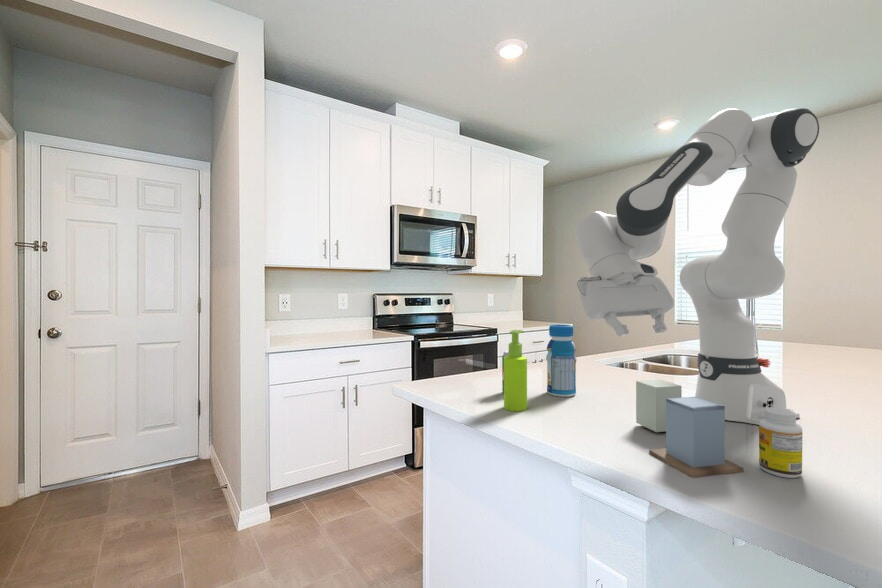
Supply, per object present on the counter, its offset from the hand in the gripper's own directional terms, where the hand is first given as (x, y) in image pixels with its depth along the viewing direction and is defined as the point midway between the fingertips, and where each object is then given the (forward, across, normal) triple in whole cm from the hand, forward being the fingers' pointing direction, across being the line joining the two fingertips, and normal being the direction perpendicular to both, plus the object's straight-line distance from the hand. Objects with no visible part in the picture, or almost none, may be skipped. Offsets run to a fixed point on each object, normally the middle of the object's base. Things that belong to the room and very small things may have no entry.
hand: (643, 333), depth 82 cm
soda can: (-5, -8, +48) cm, 49 cm away
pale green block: (+16, +8, +16) cm, 24 cm away
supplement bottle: (+29, +10, -3) cm, 31 cm away
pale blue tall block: (+24, 0, +2) cm, 24 cm away
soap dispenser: (+2, -14, +36) cm, 39 cm away
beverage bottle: (-2, +5, +43) cm, 44 cm away
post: (+24, 0, +3) cm, 24 cm away
